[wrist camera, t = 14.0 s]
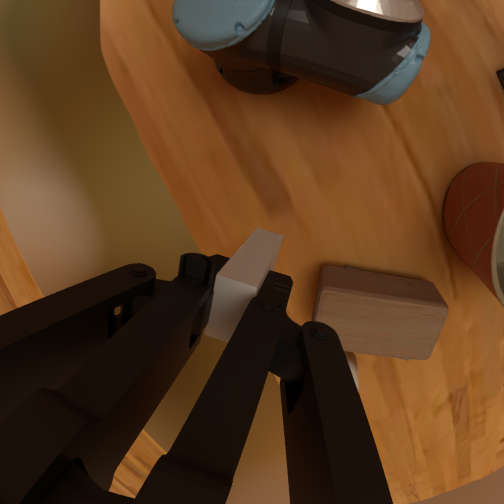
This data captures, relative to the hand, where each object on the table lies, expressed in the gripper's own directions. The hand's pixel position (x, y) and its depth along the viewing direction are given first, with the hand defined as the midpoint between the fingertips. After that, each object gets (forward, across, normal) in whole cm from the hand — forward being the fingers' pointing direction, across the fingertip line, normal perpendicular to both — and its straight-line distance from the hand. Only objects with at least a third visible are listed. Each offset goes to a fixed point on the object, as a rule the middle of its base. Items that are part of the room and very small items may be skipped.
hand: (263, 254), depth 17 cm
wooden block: (+27, +7, -16) cm, 32 cm away
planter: (+35, +32, +6) cm, 48 cm away
